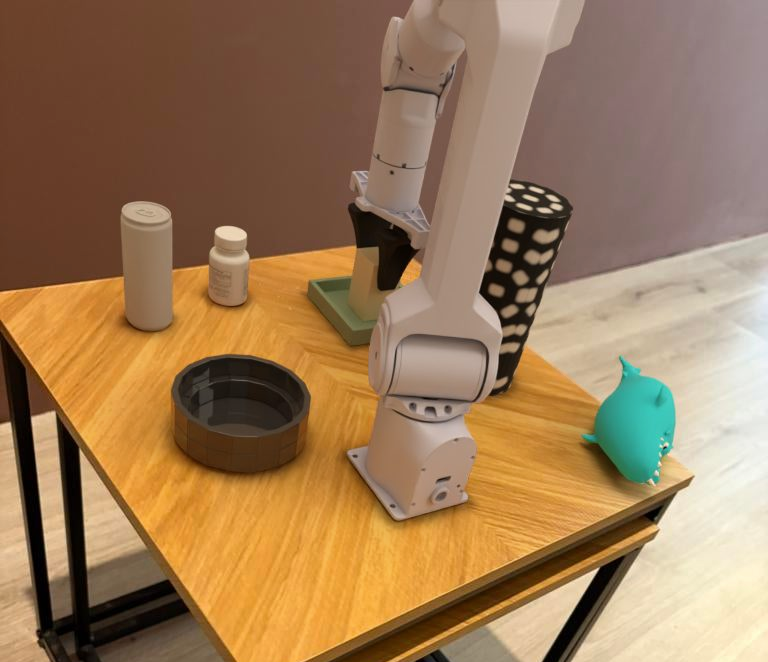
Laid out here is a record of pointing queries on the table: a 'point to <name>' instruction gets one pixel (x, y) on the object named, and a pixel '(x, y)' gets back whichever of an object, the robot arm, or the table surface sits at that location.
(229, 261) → the pill bottle
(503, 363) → the white-spotted black cylinder
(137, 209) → the beverage can
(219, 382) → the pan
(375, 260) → the block
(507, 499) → the table surface
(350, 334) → the tray
